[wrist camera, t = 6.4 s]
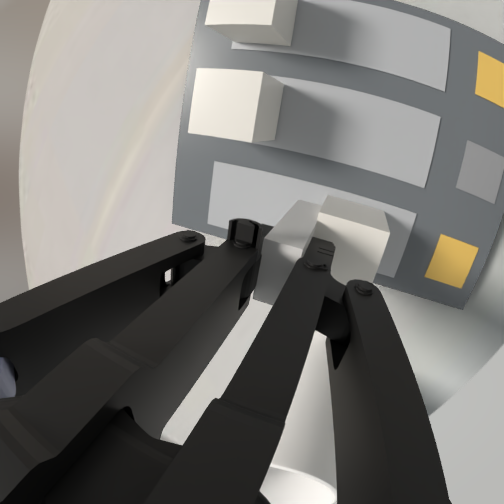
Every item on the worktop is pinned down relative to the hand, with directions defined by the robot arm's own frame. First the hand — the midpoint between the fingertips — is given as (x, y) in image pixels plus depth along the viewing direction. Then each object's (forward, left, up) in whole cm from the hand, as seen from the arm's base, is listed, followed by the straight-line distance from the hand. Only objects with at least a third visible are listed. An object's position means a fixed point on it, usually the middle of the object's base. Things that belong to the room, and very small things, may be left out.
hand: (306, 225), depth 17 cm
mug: (+13, +5, -3) cm, 14 cm away
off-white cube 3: (0, +3, -1) cm, 3 cm away
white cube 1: (-12, -5, -1) cm, 13 cm away
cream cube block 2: (-6, -5, -1) cm, 8 cm away
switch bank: (-6, +1, -3) cm, 7 cm away
